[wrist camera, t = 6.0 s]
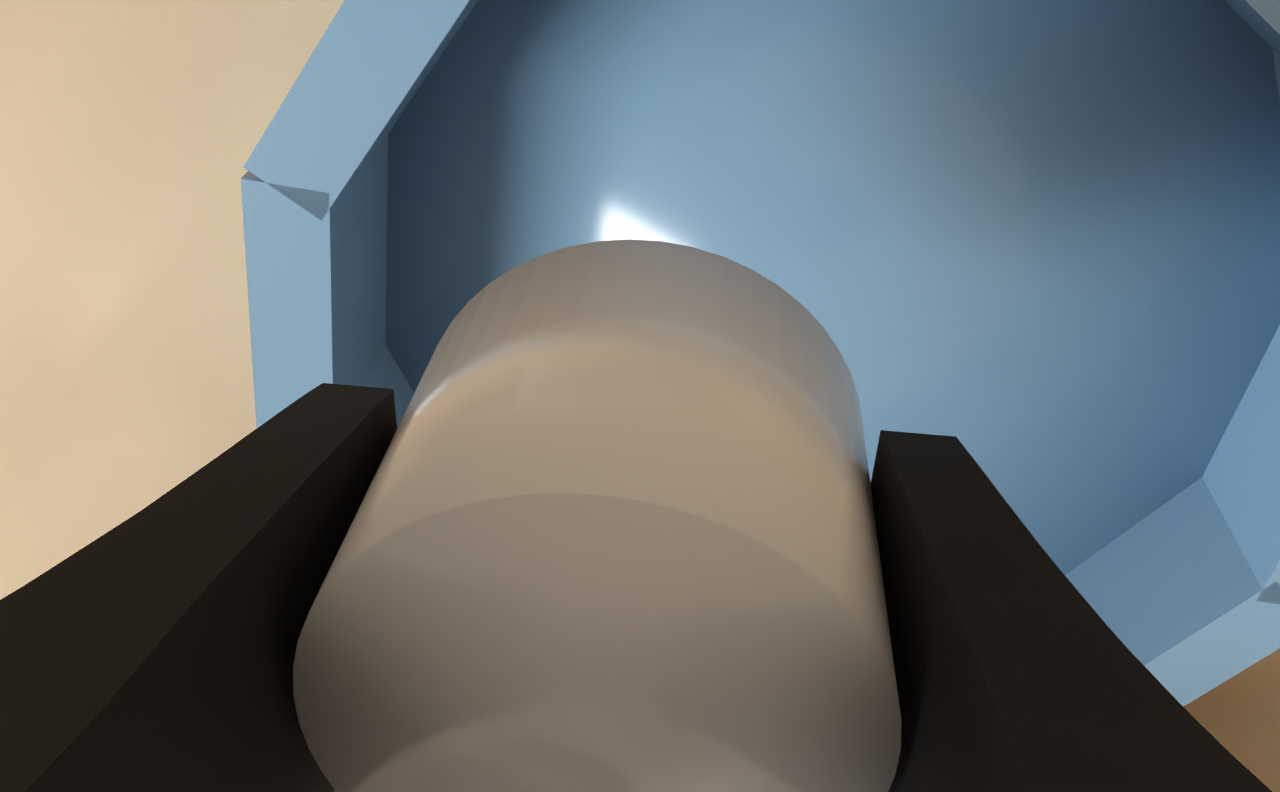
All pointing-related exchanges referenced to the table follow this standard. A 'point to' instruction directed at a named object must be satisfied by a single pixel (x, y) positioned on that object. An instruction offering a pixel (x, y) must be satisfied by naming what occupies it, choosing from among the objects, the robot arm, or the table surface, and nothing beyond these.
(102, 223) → the table surface
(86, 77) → the table surface
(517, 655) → the off-white rounded cylinder
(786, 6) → the bowl
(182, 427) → the table surface
